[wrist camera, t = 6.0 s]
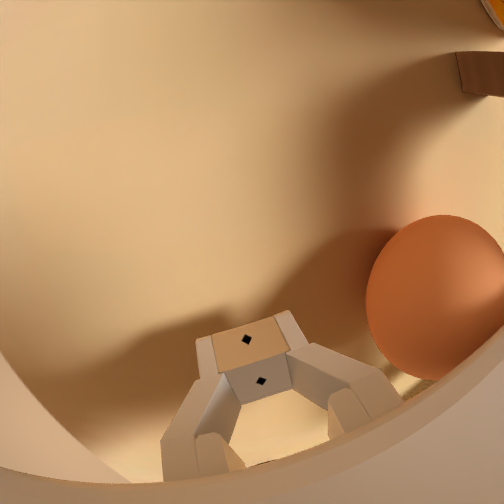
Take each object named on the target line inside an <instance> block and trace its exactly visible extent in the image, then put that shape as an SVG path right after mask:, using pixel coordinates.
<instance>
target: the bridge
mask: <svg viewBox="0 0 504 504" xmlns="http://www.w3.org/2000/svg"><path fill="white" fill-rule="evenodd" d="M456 56H457V61H458V66H459V71H460V76H461V82H462V89H463V92H470V93H477V94H484V95H490V96H497V97H504V52H488V51H466V52H456Z"/></svg>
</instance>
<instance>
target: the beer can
mask: <svg viewBox="0 0 504 504" xmlns="http://www.w3.org/2000/svg"><path fill="white" fill-rule="evenodd" d="M480 1H481V3H482V4H483V6H484V8H485V10H486V11H487V13H488V14H489V16H490V17H491V19H492V20H493V21H494V23H495V24H496V25H497V26H498V27H499V28H500V29H501V30H503V31H504V0H480Z"/></svg>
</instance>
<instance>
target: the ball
mask: <svg viewBox="0 0 504 504" xmlns="http://www.w3.org/2000/svg"><path fill="white" fill-rule="evenodd" d="M366 314H367V320H368V325H369V328H370V331H371V334H372V337H373V339H374V341H375V343H376V345H377V346H378V348H379V349H380V351H381V352H382V354H383V355H384V356H385V357H386V358H387V359H388V360H389V361H390V362H391V363H392V364H393V365H394V366H395V367H397V368H398V369H400V370H401V371H403V372H405V373H407V374H409V375H412V376H414V377H417V378H421V379H428V380H439V379H441V378H442V377H443V376H445V375H446V374H447V373H449V372H450V371H451V370H453V369H454V368H455V367H457V366H458V365H459V364H460V363H462V362H463V361H464V360H465V359H467V358H468V357H469V356H470V355H471V354H473V353H474V352H475V351H476V350H477V349H478V348H480V347H481V346H482V345H483V344H484V343H485V342H486V341H487V340H488V339H490V338H491V337H492V336H493V335H494V334H495V333H496V332H497V331H498V330H499V329H500V328H501V327H502V326H503V325H504V253H503V251H502V250H501V248H500V246H499V245H498V243H497V242H496V241H495V239H494V238H493V237H492V236H491V235H490V234H489V233H488V232H487V231H486V230H484V229H483V228H482V227H480V226H479V225H477V224H475V223H474V222H472V221H470V220H467V219H464V218H461V217H457V216H451V215H436V216H430V217H426V218H422V219H420V220H417V221H415V222H413V223H411V224H409V225H407V226H406V227H404V228H403V229H401V230H400V231H399V232H397V233H396V234H395V235H394V236H393V237H392V238H391V239H390V240H389V241H388V242H387V244H386V245H385V246H384V247H383V249H382V250H381V252H380V254H379V255H378V257H377V259H376V261H375V263H374V265H373V267H372V270H371V273H370V276H369V280H368V284H367V291H366Z"/></svg>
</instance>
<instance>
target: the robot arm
mask: <svg viewBox="0 0 504 504" xmlns="http://www.w3.org/2000/svg"><path fill="white" fill-rule="evenodd" d="M195 345H196V353H197V361H198V369H199V376H200V379H198V380H195V381H194V383H193V385H192V387H191V389H190V390H189V392H188V394H187V396H186V397H185V399H184V401H183V402H182V404H181V406H180V408H179V409H178V411H177V413H176V415H175V416H174V418H173V420H172V422H171V423H170V425H169V427H168V428H167V430H166V432H165V434H164V435H163V437H162V439H161V440H160V443H161V457H162V469H163V480H164V482H154V483H130V484H114V483H112V484H111V483H90V482H78V481H68V480H60V479H53V478H47V477H41V476H36V475H31V474H27V473H22V472H18V471H14V470H9V469H6V468H3V467H0V504H504V325H503V326H502V327H501V328H500V329H499V330H498V331H497V332H496V333H495V334H494V335H493V336H492V337H491V338H490V339H488V340H487V341H486V342H485V343H484V344H483V345H482V346H481V347H480V348H478V349H477V350H476V351H475V352H474V353H473V354H471V355H470V356H469V357H468V358H467V359H465V360H464V361H463V362H462V363H460V364H459V365H458V366H457V367H455V368H454V369H453V370H451V371H450V372H449V373H447V374H446V375H445V376H443V377H442V378H441V379H439V380H438V381H436V382H435V383H433V384H432V385H431V386H429V387H428V388H426V389H425V390H423V391H422V392H420V393H419V394H417V395H415V396H414V397H412V398H411V399H409V400H408V401H406V402H404V401H403V399H402V398H401V396H400V395H399V394H398V392H397V391H396V390H395V388H394V387H393V385H392V384H391V383H390V381H389V380H388V379H387V377H386V376H385V374H384V373H383V372H382V370H381V369H378V368H376V367H373V366H371V365H368V364H365V363H363V362H360V361H358V360H355V359H353V358H350V357H348V356H345V355H343V354H340V353H338V352H336V351H333V350H331V349H328V348H326V347H324V346H321V345H319V344H317V343H314V342H313V343H310V344H309V343H308V341H307V340H306V338H305V336H304V334H303V333H302V331H301V329H300V328H299V326H298V324H297V322H296V321H295V319H294V317H293V315H292V314H291V312H290V311H289V310H286V311H283V312H280V313H277V314H275V315H273V316H270V317H267V318H264V319H261V320H258V321H255V322H252V323H249V324H246V325H243V326H240V327H236V328H233V329H229V330H226V331H222V332H218V333H215V334H212V335H209V336H205V337H201V338H197V339H196V341H195ZM290 389H293V390H295V391H296V392H298V393H300V394H301V395H303V396H304V397H306V398H307V399H309V400H310V401H312V402H314V403H315V404H317V405H318V406H320V407H322V408H323V409H325V410H327V411H328V436H329V438H330V441H327V442H325V443H322V444H320V445H317V446H315V447H312V448H309V449H307V450H304V451H301V452H298V453H295V454H293V455H290V456H287V457H283V458H280V459H277V460H274V461H270V462H267V463H264V464H260V465H256V466H252V467H248V468H246V467H245V464H244V462H243V461H242V460H241V458H240V457H239V456H238V455H237V454H236V453H235V452H234V451H233V449H232V448H231V447H230V446H229V442H230V439H231V436H232V433H233V430H234V427H235V424H236V421H237V418H238V415H239V412H240V409H241V405H243V404H246V403H250V402H253V401H256V400H259V399H262V398H264V397H267V396H271V395H274V394H277V393H280V392H283V391H287V390H290Z"/></svg>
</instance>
